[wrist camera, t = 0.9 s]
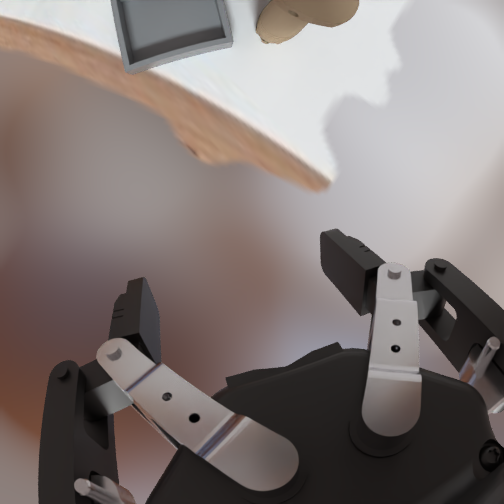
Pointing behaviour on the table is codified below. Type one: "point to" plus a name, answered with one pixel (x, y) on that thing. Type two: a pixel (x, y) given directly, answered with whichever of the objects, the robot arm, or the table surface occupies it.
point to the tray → (168, 30)
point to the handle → (301, 17)
